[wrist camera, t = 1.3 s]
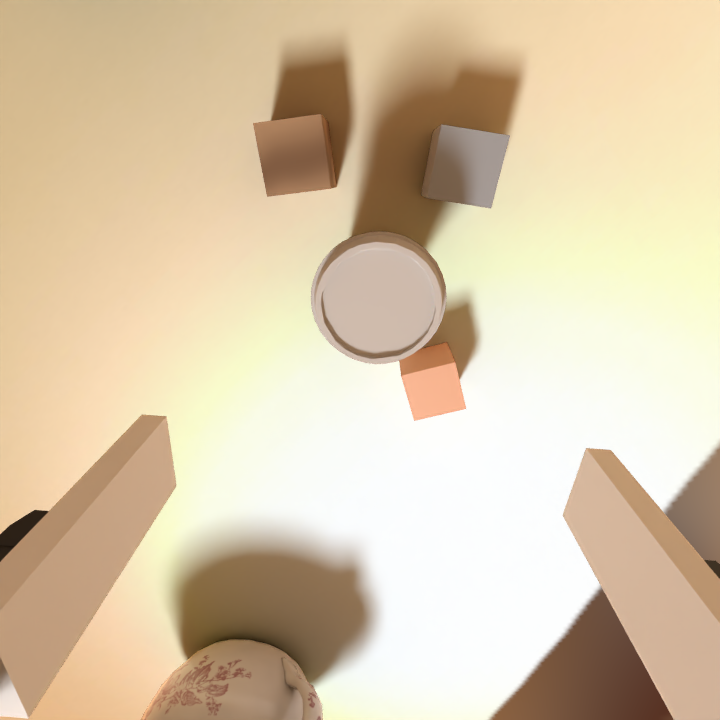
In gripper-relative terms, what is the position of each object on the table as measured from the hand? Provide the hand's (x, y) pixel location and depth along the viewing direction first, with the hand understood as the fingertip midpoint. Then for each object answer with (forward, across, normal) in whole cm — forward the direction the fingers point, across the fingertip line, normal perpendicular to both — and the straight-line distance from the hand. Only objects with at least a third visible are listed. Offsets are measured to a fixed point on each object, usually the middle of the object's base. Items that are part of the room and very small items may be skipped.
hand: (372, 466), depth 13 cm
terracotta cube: (+29, +6, -10) cm, 31 cm away
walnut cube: (+29, -7, +9) cm, 31 cm away
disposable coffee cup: (+29, 0, 0) cm, 29 cm away
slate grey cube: (+29, +6, +9) cm, 31 cm away
